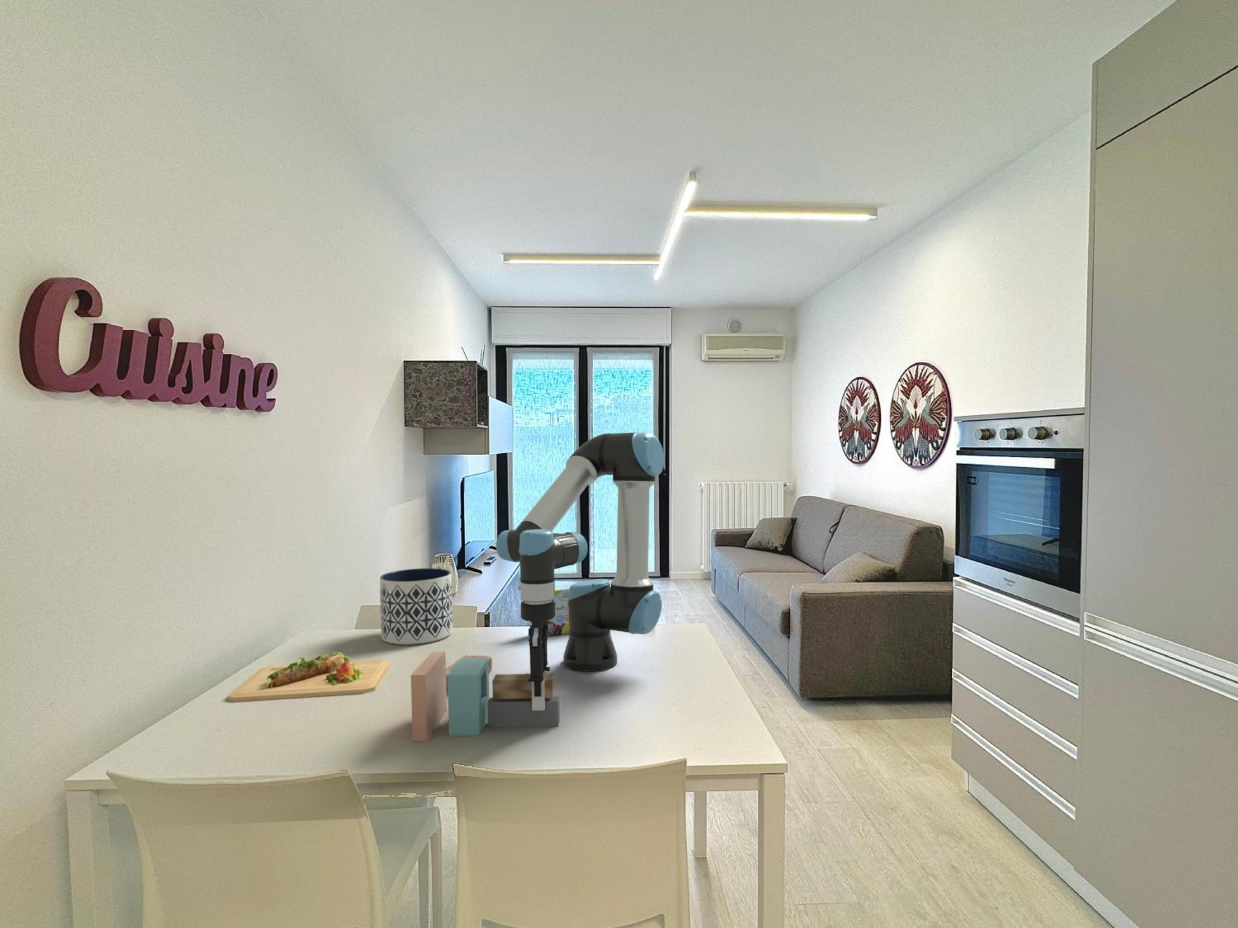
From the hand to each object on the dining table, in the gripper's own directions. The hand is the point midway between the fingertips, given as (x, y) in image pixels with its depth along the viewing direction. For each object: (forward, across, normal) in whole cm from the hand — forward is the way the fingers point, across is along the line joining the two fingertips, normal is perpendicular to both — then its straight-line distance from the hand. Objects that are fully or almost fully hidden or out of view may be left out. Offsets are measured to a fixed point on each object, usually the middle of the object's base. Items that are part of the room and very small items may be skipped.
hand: (539, 705), depth 148 cm
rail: (+4, 0, -4) cm, 5 cm away
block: (+4, 0, -16) cm, 16 cm away
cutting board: (+5, -30, -63) cm, 70 cm away
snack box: (+4, -73, -1) cm, 73 cm away
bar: (-2, 0, -4) cm, 4 cm away
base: (+4, 0, -24) cm, 25 cm away
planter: (+4, -71, -49) cm, 86 cm away
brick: (+5, -28, -23) cm, 37 cm away
